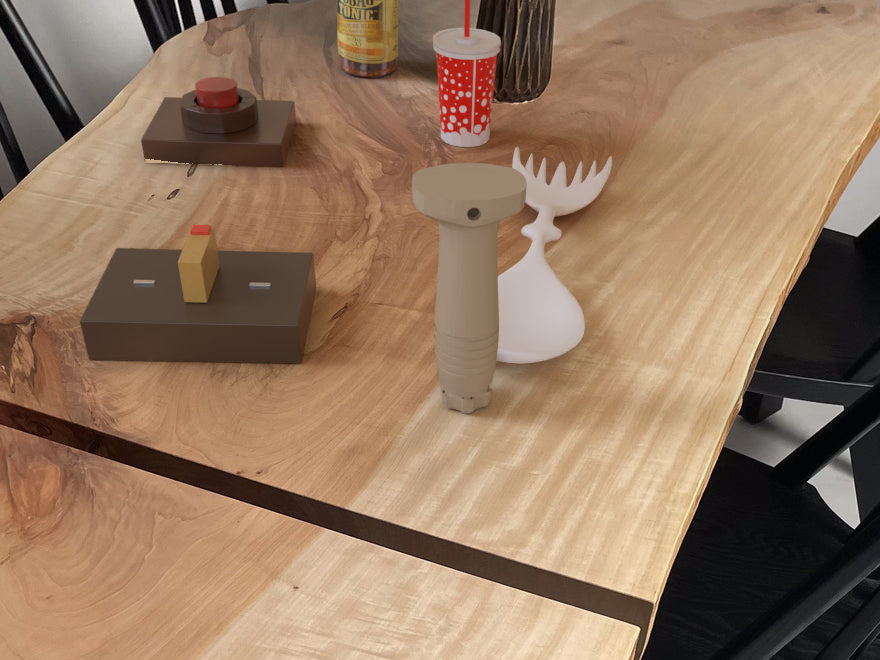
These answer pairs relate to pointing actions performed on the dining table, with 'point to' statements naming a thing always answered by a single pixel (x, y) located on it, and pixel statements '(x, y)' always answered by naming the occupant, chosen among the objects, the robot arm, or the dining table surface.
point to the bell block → (221, 132)
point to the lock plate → (201, 309)
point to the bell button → (217, 92)
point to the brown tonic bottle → (367, 36)
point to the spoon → (543, 270)
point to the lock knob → (198, 264)
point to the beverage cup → (466, 82)
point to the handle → (467, 271)
